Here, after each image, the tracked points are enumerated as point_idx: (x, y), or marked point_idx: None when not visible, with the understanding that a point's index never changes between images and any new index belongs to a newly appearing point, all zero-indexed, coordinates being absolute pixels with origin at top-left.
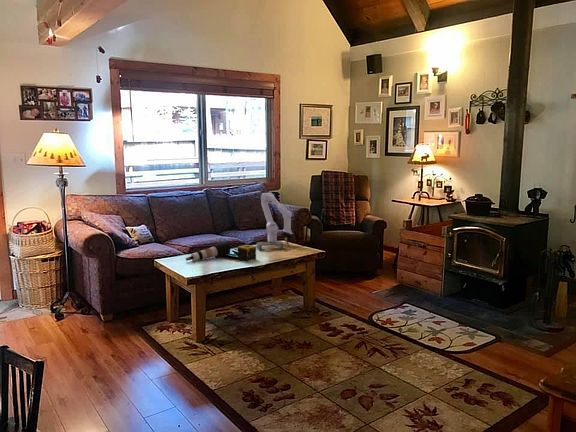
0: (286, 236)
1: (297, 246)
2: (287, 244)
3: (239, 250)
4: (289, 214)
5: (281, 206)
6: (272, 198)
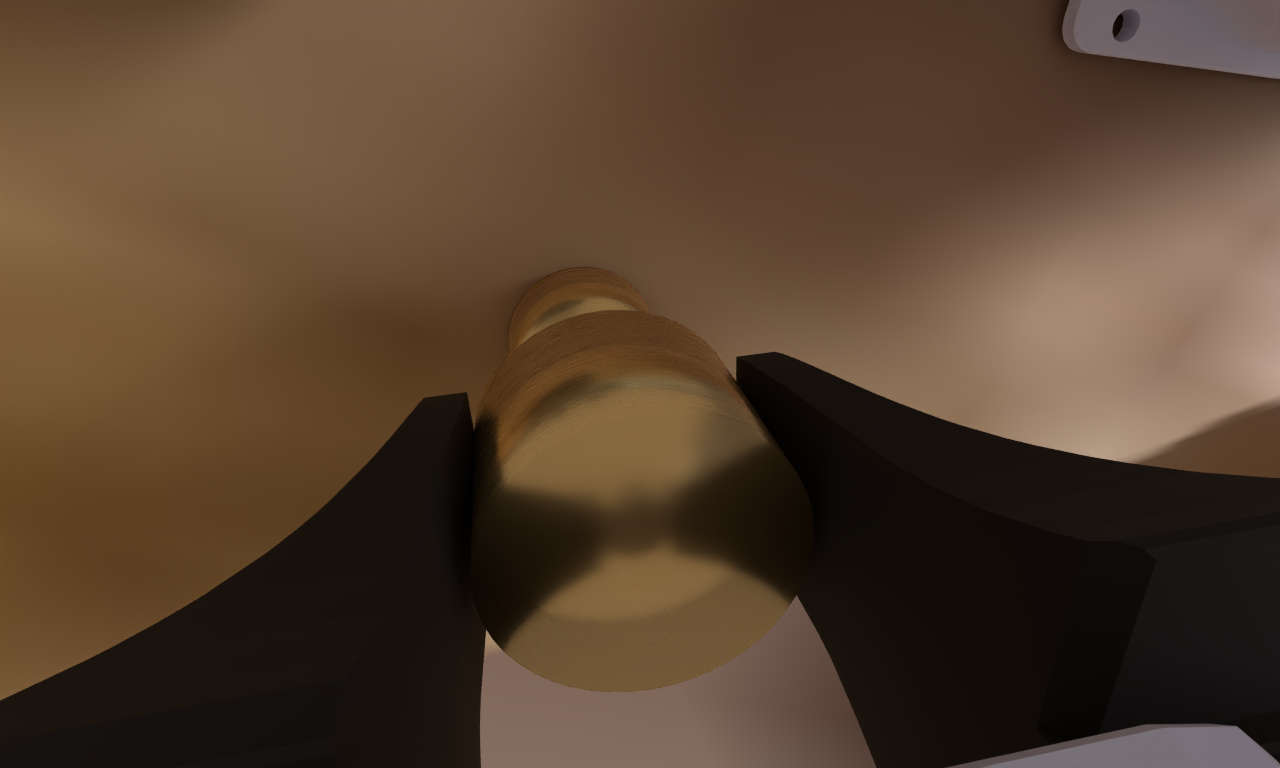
0: (381, 561)
1: None
2: (515, 346)
3: None
4: None
5: None
6: None
